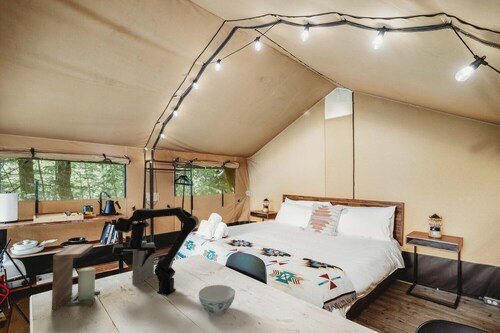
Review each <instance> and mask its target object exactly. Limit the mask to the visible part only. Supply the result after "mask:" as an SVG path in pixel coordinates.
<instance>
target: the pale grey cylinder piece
mask: <svg viewBox="0 0 500 333" xmlns="http://www.w3.org/2000/svg"><path fill="white" fill-rule="evenodd" d="M77 276H78V277H77V278H78V279H77V280H78V282H77V293H78V298H77V301H84V300H94V299H95V295H94V294H95V291H96V290H95V289H96V288H95V284H96V268H95V267H91V266H90V267H89V266H88V267H85V268H81V269H79V270H78V275H77Z"/></svg>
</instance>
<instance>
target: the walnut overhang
mask: <svg viewBox="0 0 500 333" xmlns="http://www.w3.org/2000/svg"><path fill="white" fill-rule="evenodd" d="M93 248H94V243H89V244H86V243H85V244H70V245H68V246H66V247H65V248H63V249H61V250H59V251H58V252H57V253H56V252H55V253H54V254H53V256H52V257H53V258H52V259H53V261H52V263H53V264H52V288H51V292H52V293H51V311H52V310H53V311H57V310H58V309H57V308H59V307H61V306H62V304H63V303H64V302H65V301H66V300H67V299H68V298H70V296H71V295H72V294H73V278H74V277H73V272H74V259H76V258H77V259H78V258H82V257H83V256H84V255H85V254H86V253H89V251H91V250H92V249H93ZM96 295H97V296H98V295H101V290H95V294H94V296H96ZM93 303H94V299H93V300H84V301H78V292H77V293H76V294H74V296H73V297H72V298H71V299H70V300H69V302H67V307H75V306H81V305H92V304H93ZM56 309H57V310H56Z"/></svg>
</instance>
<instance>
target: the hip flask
mask: <svg viewBox="0 0 500 333" xmlns="http://www.w3.org/2000/svg"><path fill="white" fill-rule="evenodd" d="M146 245H154V246H155V242H152V241H151V242H148V241H147V240H143V241H142V247H146ZM144 252H145V251H132V277H131V278H132V280H131V281H132V282H131V284H132V285H133V286H134V285H135V286H137V285H139V284H140V283H142V282H143V281H144V280H147V278H150V277H152V276H154V275H155V272H154V270H155V253H154V254H152V255H150V256H149V257H148V259H147V260H146V262H145V263H144V265H143V267H142V261H143V257H144Z"/></svg>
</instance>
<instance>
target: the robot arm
mask: <svg viewBox="0 0 500 333" xmlns="http://www.w3.org/2000/svg"><path fill="white" fill-rule="evenodd" d="M165 217H177V219H178V220H179V222H180V223H182V225H181V226H182V227H181V228H180V229H181V230H180V233H179V235H178V236H177V238H176V240H175V241H174V242H173V244H172V245H171V248H170V249H169V251H168V253H167V254H166V255H165V256H164V255H163V256H162V257H161V258H160V259H158V261H157V264H156V265H154V275H155V276H156V277H157V281H158V290H157V291H156V293H157V294H159V295H165V296H169V295H170V294H171V293H173V292H175V291H176V290H177V289H176V288H175V278H174V276H175V274H176V270H175V269H174V268H173V267H172V266H173V264H174V260H175V258H176V256H177V255H178V253H179V252H180V250H181V248H182V246H183V245H184V244H185V242H186V240H187V238H188V236H190V234H191V233H192V232H193V231H194V230H195V229H196V228H197V226H199V223H200V220H199V217H197V216H196V215H193V214H191V213H190V212H189V211H188V210H185V209H184V208H183V207H182V206H177V207H168V208H166V207H165V208H157V209H156V208H155V209H153V208H146V207H142V208H139V209H135V210H133V212H132V215H131V216H130V217H129V218H127V217H123V216H121V217H118V219H117V221H116V223H115V225H114V231H115V232H118V233H125V234H128V233H130V235H125V239H124V243H125V244H127V245H128V246H124V244H121V243H120V244H118V243H117V244H113V247H112V254H113V255H115V256H117V257H118V258H119V263H120V268H122V267H123V263H124V262H123V260H124V259H123V258H124V252H133V251H145V252H144V257H143V261H142V267H143V265H144V263H145V262H146V260H147V259H148V257H149V256H150V255H152V254H154V255H155V254H156V250H157V249H156V248H157V247H156V246H155V244H154V245H146V247H142V241H144V234H145V229H146V228H148V227H150V223H149V222H148V221H147V220H149V219H153V218H154V219H155V218H165ZM145 220H146V221H145ZM143 221H144V222H143Z"/></svg>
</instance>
